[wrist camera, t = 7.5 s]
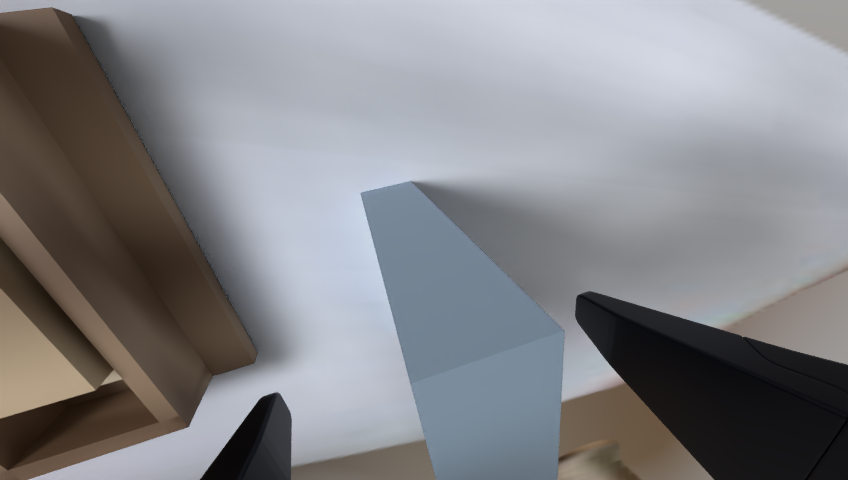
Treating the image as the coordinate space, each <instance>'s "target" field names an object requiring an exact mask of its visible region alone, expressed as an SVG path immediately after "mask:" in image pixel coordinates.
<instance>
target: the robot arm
mask: <svg viewBox="0 0 848 480" xmlns="http://www.w3.org/2000/svg"><path fill="white" fill-rule="evenodd" d="M575 317H576V320H577V322H578V324H579V325H580V326H581V328H582V329H583V330H584V332H585V333H586V334H587V336H588V337H589V338H590V340H591V341H592V342H593V344H594V345H595V346H596V347H597V349H598V350H599V351H600V353H601V354H602V355H603V357H604V358H605V359H606V361H607V362H608V363H609V364H610V365H611V367H612V368H613V369H614V370H615V371H616V372H617V373H618V374H619V376H620V377H621V378H622V379H623V380H624V381H625V382H626V383H627V384H628V385H629V386H630V388H631V389H632V390H633V391H634V392H635V393H636V394H637V395H638V396H639V398H641V400H642V401H643V402H644V403H645V404H646V405H647V406H648V407H649V409H650V410H651V411H652V412H653V413H654V414H655V415H656V416H657V417H658V418H659V420H660V421H661V422H662V423H663V424H664V425H665V426H666V427H667V428H668V429H669V430H670V431H671V433H672V434H673V435H674V436H675V437H676V438H677V439H678V440H679V441H680V442H681V444H682V445H683V446H684V447H685V448H686V449H687V450H688V451H689V452H690V454H691V455H692V456H693V457H694V458H695V459H696V460H697V461H698V462H699V463H700V464H701V466H702V467H703V468H704V469H705V470H706V471H707V472H708V473H709V474H710V475H711V476H712V478H713V479H714V480H848V365H847V364H843V363H839V362H834V361H831V360H827V359H823V358H819V357H815V356H811V355H808V354H804V353H800V352H796V351H792V350H789V349H785V348H781V347H778V346H775V345H771V344H767V343H764V342H761V341H758V340H754V339H751V338H748V337H742V336H740V335H737V334H734V333H730V332H727V331H724V330H720V329H717V328H714V327H710V326H707V325H703V324H700V323H697V322H693V321H690V320H686V319H683V318H680V317H676V316H673V315H670V314H666V313H663V312H659V311H656V310H653V309H649V308H646V307H642V306H639V305H636V304H632V303H629V302H626V301H622V300H619V299H615V298H612V297H609V296H605V295H602V294H598V293H595V292H591V291H589V292H585V293H582V294H579V295H578V296H577V298H576V311H575ZM291 427H292V419H291V413H290V411H289V409H288V407H287V405H286V403H285V402H284V400H283V398H282V396H281V395H280V394H279V393H278V392H275V393H272V394H269V395H266V396H263V397H262V398H261V399H260V400H259V401H258V402H257V403H256V405H255V406H254V408H253V409H252V410H251V412H250V413H249V414H248V416H247V417H246V418H245V420H244V421H243V422H242V424H241V425H240V426H239V428H238V429H237V430H236V432H235V433H234V434H233V436H232V437H231V439H230V440H229V441H228V443H227V444H226V445H225V447H224V448H223V449H222V451H221V452H220V453H219V455H218V456H217V457H216V459H215V460H214V461H213V463H212V464H211V465H210V467H209V468H208V470H207V471H206V472H205V474H204V475H203V476H202V478H201V479H200V480H291Z"/></svg>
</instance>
